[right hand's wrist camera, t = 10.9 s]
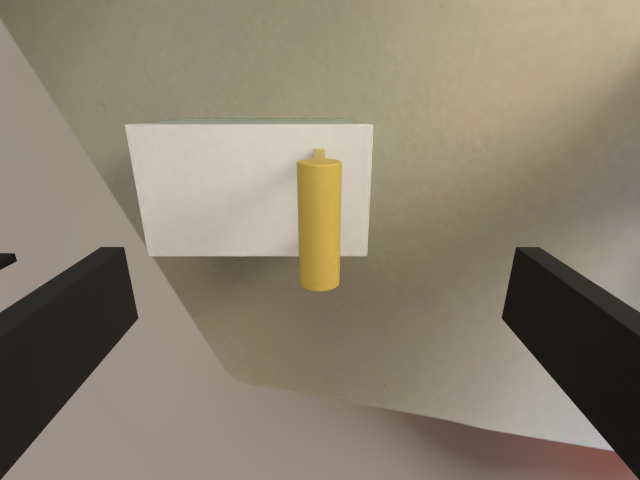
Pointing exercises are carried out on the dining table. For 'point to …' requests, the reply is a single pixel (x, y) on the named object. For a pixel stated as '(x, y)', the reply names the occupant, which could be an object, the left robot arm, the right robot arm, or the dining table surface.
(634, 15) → the dining table surface
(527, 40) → the dining table surface
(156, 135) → the lid
